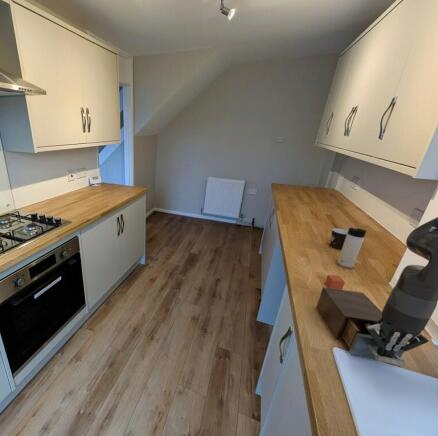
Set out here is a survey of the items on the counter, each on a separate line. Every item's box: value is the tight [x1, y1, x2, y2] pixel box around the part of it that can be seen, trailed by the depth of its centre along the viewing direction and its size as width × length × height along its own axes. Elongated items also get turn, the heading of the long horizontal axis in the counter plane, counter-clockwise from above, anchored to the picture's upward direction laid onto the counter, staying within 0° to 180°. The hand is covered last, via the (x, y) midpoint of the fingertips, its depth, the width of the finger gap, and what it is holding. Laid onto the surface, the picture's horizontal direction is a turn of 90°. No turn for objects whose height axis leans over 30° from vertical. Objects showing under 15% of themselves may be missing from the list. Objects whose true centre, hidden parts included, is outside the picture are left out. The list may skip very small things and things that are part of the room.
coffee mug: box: [329, 227, 348, 251], centre depth 133 cm, size 12×9×10 cm
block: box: [324, 274, 346, 290], centre depth 100 cm, size 4×4×4 cm
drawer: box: [341, 319, 409, 367], centre depth 70 cm, size 18×11×7 cm, turn 167°
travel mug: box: [336, 227, 367, 270], centre depth 114 cm, size 6×7×20 cm
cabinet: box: [316, 286, 383, 341], centre depth 79 cm, size 15×13×9 cm
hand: (383, 357), depth 64 cm, fingers closed
